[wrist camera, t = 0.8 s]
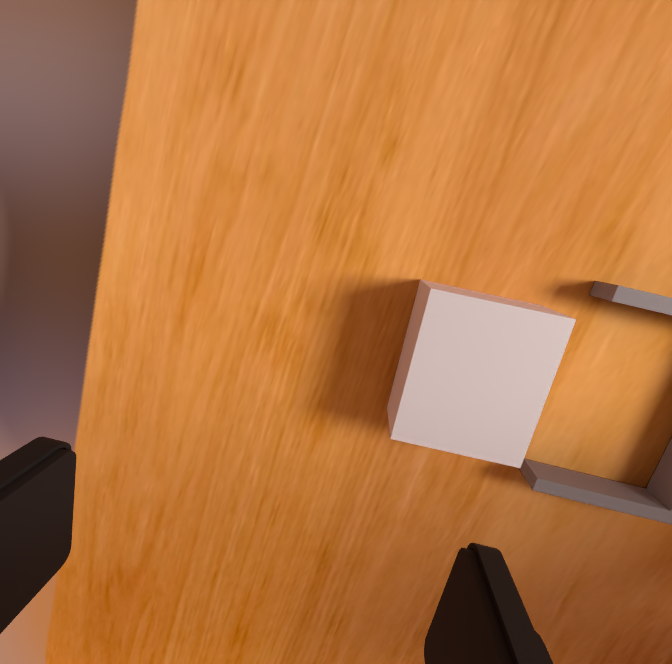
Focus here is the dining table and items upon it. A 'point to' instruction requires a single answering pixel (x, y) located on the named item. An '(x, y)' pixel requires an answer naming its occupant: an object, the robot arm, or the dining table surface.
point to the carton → (475, 372)
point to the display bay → (651, 502)
